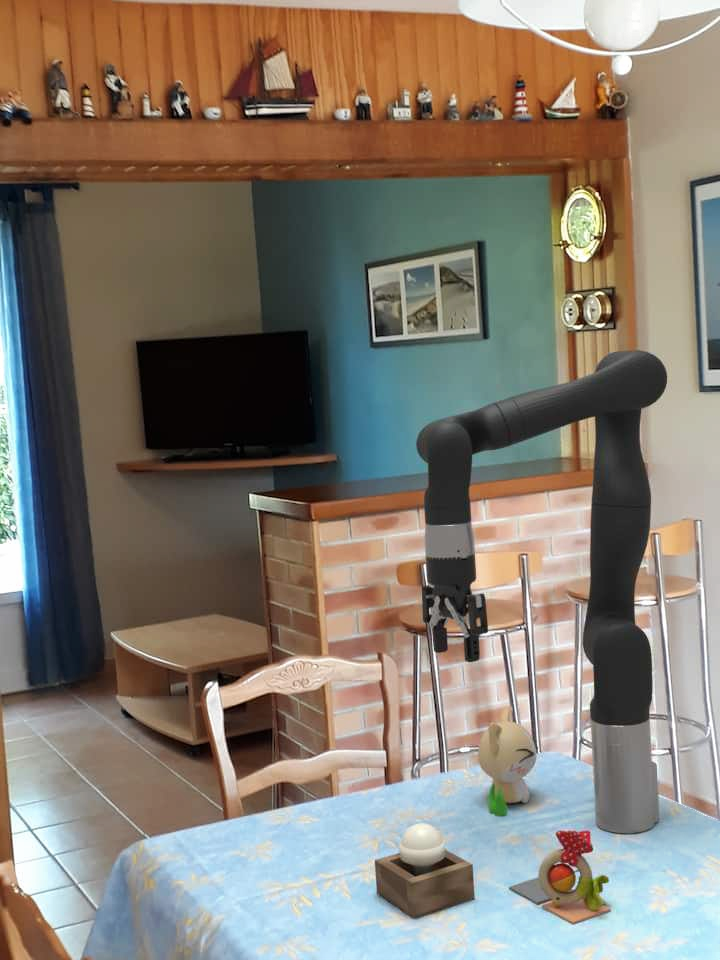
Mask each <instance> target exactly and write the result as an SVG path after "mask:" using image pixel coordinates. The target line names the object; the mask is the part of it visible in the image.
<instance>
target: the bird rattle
mask: <svg viewBox="0 0 720 960" xmlns="http://www.w3.org/2000/svg"><path fill="white" fill-rule="evenodd" d="M591 835H592V834H591V831H590V830H589V829H587V830H580V831H577V830H561V829H560V830H558V831H556V833H555V836H556V838H557V840H558V841H559V843H560V844H561V846H562V847H563V848H560V849H556V850H552V851H550V852H549V853H548V854H546V855H545V857H544V858H543V859H542V861H541V862H540V865H539V869H538V873H537V874H538V877H539V882H540V885H541V887H542V889H543V891H544V892H545V894H546V895H547V896H548V897H549V898H551V900H550V901H551V902H553V905H554V906H555V907H558V906H560V905H561V904H572V903H575V902H578V901H580V900H581V899H583V900H586V899H588V907H589V909H590V910H592V911H596V909H597V908H598V906H599V907H600V906H602V905H604V901H603V899H602V897H601V895H600V894H601V893H603V892H604V885H603V884H608V883H609V882H610V879H609V877H608V876H607V875H606V874H600V875H598V876H596V877H594V878H593V871H592V868H591V865H590V864H589V862H588V861H587V860H586V858H585V857H584V856H582V855H584V854H590V853H592V852H593V851H594V848H593V843H592V842H591V841H592V840H591ZM572 867H574V868H576V870H574V869H573V868H572ZM578 872H579V874H580V876H578V881H577V885H576V880H577V879H576V873H578ZM575 885H576V887H575ZM574 887H575V888H574ZM573 888H574V889H573ZM571 889H573V891H570V890H571ZM567 891H570V892H567Z"/></svg>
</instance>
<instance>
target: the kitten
mask: <svg viewBox="0 0 720 960" xmlns="http://www.w3.org/2000/svg"><path fill="white" fill-rule="evenodd" d="M538 749H539V747H538V745H537V742H536V741H535V739H534V738H533V737H532V735H531V733H530V731H528V730H527V728H525V726H524V725H521V724H519V723H517V722H513V721H511V718H510V710H509V708H508V707H506V706H505V707H504V708H503V709H502V711H501V714H500V717H499V722H496V723H495V722H490V723H489V725H488V728H486V730H485V731H484V733H483V734H482V736H481V738H480V741H479V745H478V750H477V758H478V764H479V766H480V768H481V770H482V771H483V773H485V774H486V775H487V776H488V777H490V778H492V779H491V780H492V781H491V782H492V783H491V785H490V789H489V793H488V809H489V811H488V812H489V813H491V814H494V816H506V815H508V804H514V803H515V804H516V803H519V802H521V803H522V804H527V803H528V801H529V800H530V798H531V793H530V789H529V787H528V784H527V783H526V781H525V779H524V777H526V776H527V775H528V774H529V773H530V772H531V771H532V769H533V768H534V767H535V765H536V762H537V750H538Z"/></svg>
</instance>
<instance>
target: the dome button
mask: <svg viewBox="0 0 720 960" xmlns="http://www.w3.org/2000/svg"><path fill="white" fill-rule="evenodd" d="M398 846H399V847H398V849H399V853H400V859H401V860H402V861H403V862H405V863H408V864H411V865H413V868H414V876H415V877H416V876H419V875H423V874H426V873H429V872H433V871H434V870H433V864H435V863H436V862H439V861H441V860H442V859H444V857H445V850H446V844H445V839H444V837H442V835H441V833H440V832H439V831H438V829H437V828H436V827H434V826H433V825H431V824H428V823H424V822H422V823H421V822H420V823H416V824H412V825H411V826H409V827H408V828H407V829H406V830H405V831H404V832H403V835H402V836H401V839H400V840H399V842H398Z"/></svg>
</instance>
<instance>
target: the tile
mask: <svg viewBox="0 0 720 960" xmlns="http://www.w3.org/2000/svg"><path fill="white" fill-rule="evenodd" d="M541 908H543V909H545V910H546V911H548V912H550V913H552V914H553V915H555V916H557V917H559V918H561V919H563V920H564V921H566V922H568V923H570V924H571V925H576V924H578V923H581V922H584V921H587V920H588V919H591V918H595V917H598V916H600V915H602V914H606V913H609V912H611V911H612V909H611V908H610V907H608V906H606V905H605V904H603V905H602V906H600V907H599V906H598V908H597V909H596V911H592V910H590V909H589V907H588V899H586V900H583V899H581V900H580V901H578V902H575V903H572V904H561V905H560V906H558V907H555V906H554V905H553V902H552V901H550V902H547V903H544V904H542V905H541Z"/></svg>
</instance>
